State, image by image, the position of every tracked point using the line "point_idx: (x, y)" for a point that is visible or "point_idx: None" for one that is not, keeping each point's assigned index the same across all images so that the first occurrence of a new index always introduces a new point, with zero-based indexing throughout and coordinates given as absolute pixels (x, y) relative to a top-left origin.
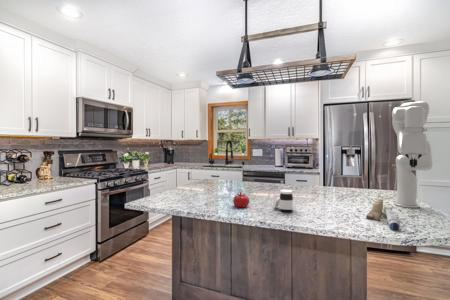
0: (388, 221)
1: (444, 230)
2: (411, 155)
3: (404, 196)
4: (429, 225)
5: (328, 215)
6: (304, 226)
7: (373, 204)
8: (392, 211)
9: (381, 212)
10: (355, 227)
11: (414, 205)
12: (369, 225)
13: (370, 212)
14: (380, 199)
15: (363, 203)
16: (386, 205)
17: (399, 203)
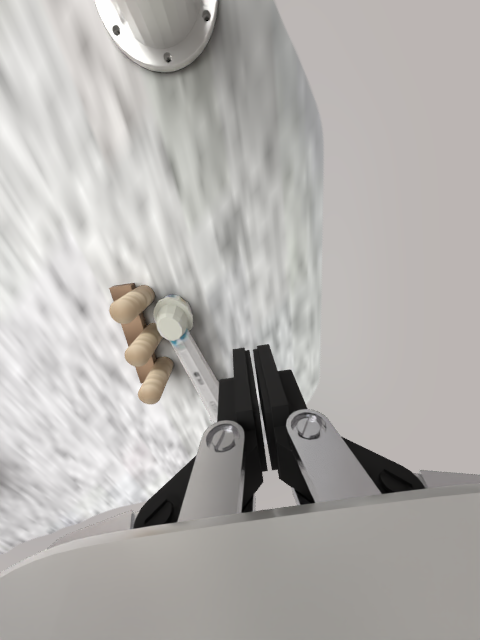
0: (211, 419)
1: (318, 339)
2: (240, 494)
3: (142, 8)
4: (286, 319)
5: (60, 419)
6: (91, 513)
7: (145, 401)
8: (193, 346)
9: (150, 303)
10: (162, 455)
11: (198, 15)
12: (176, 423)
13: (129, 337)
14: (124, 310)
15: (3, 142)
16: (161, 323)
17: (131, 34)
